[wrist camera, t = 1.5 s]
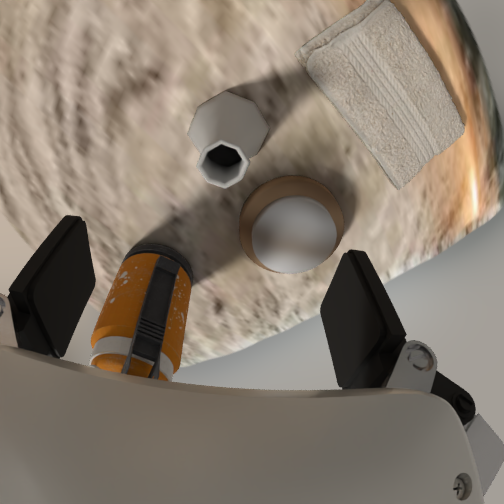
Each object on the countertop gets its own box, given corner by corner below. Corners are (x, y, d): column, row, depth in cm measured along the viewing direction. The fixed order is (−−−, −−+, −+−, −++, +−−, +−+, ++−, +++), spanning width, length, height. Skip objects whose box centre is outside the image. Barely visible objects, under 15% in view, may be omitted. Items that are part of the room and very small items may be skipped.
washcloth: (371, -7, 18) (385, -13, 15) (459, 126, 26) (475, 135, 23) (283, 57, 22) (289, 57, 20) (390, 185, 30) (402, 197, 28)
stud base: (248, 167, 28) (249, 181, 25) (351, 186, 30) (363, 201, 27) (232, 256, 35) (232, 276, 32) (322, 267, 36) (328, 286, 33)
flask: (283, 127, 26) (304, 161, 18) (231, 179, 29) (229, 233, 21) (224, 77, 23) (216, 84, 15) (174, 135, 26) (145, 172, 18)
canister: (116, 278, 36) (67, 418, 20) (143, 214, 31) (73, 376, 15) (176, 305, 39) (154, 447, 23) (214, 248, 34) (200, 419, 18)
